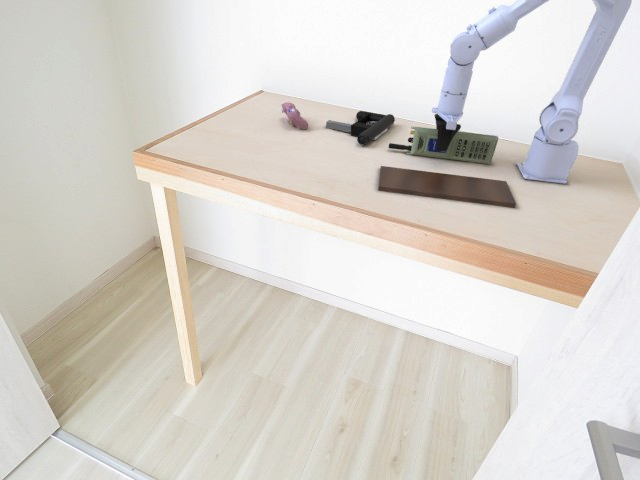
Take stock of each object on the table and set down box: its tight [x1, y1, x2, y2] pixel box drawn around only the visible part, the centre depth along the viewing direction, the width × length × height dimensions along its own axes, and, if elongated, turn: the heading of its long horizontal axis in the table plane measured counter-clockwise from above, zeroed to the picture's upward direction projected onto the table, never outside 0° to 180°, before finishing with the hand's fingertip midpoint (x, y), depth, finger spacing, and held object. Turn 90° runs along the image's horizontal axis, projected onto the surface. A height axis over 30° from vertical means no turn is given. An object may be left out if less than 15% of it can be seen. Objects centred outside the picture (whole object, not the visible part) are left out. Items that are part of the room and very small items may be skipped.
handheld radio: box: [388, 126, 499, 165], centre depth 102 cm, size 7×3×25 cm
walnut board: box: [377, 165, 517, 209], centre depth 90 cm, size 28×10×1 cm, turn 81°
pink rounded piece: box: [280, 100, 309, 130], centre depth 115 cm, size 10×5×7 cm, turn 17°
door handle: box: [325, 110, 396, 146], centre depth 114 cm, size 3×20×16 cm
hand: (440, 147), depth 102 cm, fingers closed on handheld radio, 3 cm apart
